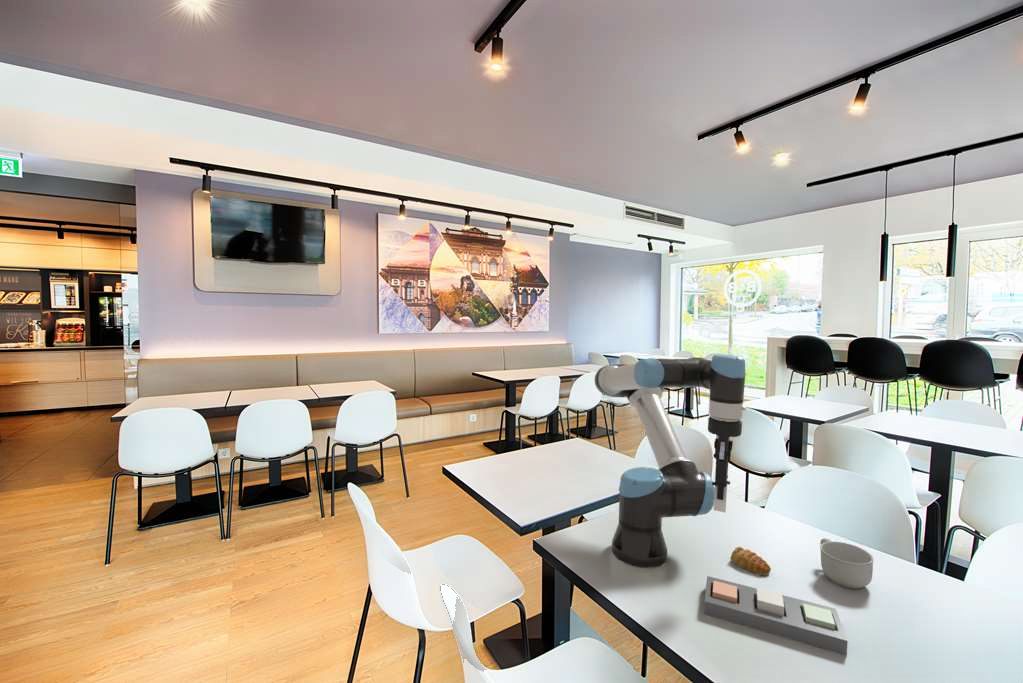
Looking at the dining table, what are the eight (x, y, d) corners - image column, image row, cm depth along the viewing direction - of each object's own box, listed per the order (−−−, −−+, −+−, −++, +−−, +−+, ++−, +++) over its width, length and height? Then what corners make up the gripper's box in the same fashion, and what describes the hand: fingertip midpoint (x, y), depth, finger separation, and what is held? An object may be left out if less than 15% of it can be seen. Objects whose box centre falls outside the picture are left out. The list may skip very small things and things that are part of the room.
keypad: (704, 613, 99) (704, 601, 98) (706, 587, 108) (707, 575, 108) (846, 655, 87) (847, 640, 87) (835, 621, 97) (835, 608, 97)
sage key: (805, 628, 92) (806, 616, 92) (802, 614, 97) (802, 603, 97) (834, 636, 90) (835, 624, 90) (829, 621, 95) (830, 610, 95)
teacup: (882, 597, 106) (883, 565, 105) (831, 591, 108) (833, 559, 108) (849, 565, 119) (851, 537, 119) (805, 560, 122) (807, 532, 121)
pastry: (775, 572, 116) (776, 558, 116) (762, 580, 112) (762, 566, 112) (741, 556, 124) (741, 542, 124) (727, 563, 120) (728, 549, 120)
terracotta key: (712, 602, 101) (712, 591, 100) (713, 590, 105) (713, 580, 105) (736, 609, 98) (737, 598, 98) (736, 596, 103) (736, 586, 103)
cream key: (757, 610, 96) (757, 599, 96) (756, 598, 101) (756, 587, 101) (783, 618, 94) (784, 606, 94) (781, 604, 99) (782, 594, 99)
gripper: (741, 426, 101) (735, 525, 102) (742, 414, 112) (737, 503, 114) (705, 421, 104) (700, 516, 106) (710, 410, 115) (705, 497, 117)
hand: (719, 510), depth 110 cm, fingers closed
